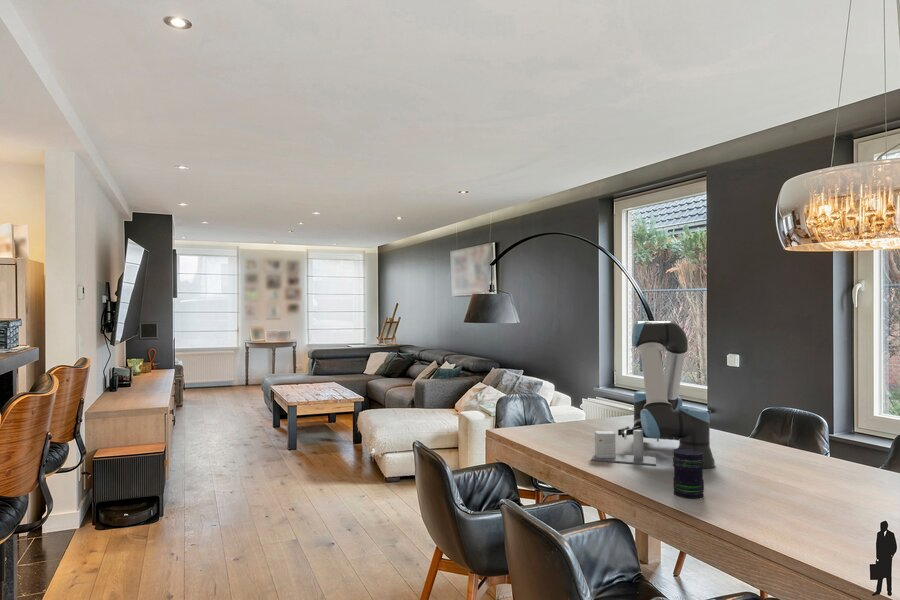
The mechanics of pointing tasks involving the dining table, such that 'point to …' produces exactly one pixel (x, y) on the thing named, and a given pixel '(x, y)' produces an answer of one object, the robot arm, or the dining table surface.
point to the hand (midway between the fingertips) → (641, 437)
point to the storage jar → (688, 473)
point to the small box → (605, 444)
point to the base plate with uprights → (638, 453)
